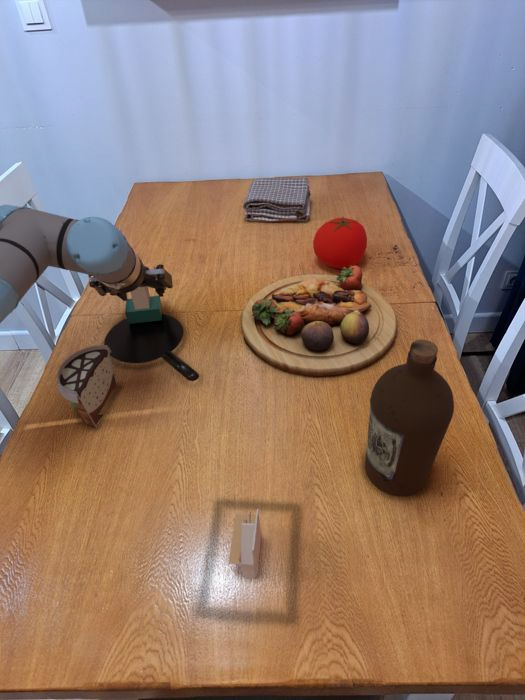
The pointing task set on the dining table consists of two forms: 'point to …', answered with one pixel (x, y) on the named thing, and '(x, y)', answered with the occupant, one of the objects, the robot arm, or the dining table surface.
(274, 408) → the dining table surface
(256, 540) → the architectural model
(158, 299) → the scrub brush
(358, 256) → the tomato
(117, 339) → the pan
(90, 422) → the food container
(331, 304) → the wooden plate
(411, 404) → the brown bottle
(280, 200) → the towel
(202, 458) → the dining table surface
